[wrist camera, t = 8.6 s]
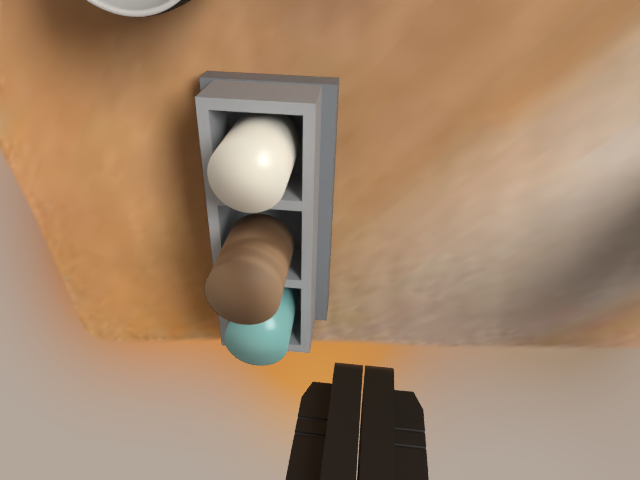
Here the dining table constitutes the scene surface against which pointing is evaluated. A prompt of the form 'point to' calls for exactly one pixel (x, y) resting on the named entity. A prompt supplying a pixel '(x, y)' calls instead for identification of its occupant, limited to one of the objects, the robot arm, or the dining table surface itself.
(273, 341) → the teal rounded cylinder
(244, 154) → the white rounded piece
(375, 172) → the dining table surface
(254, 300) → the brown rounded cylinder
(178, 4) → the mug
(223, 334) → the grey compartment tray
